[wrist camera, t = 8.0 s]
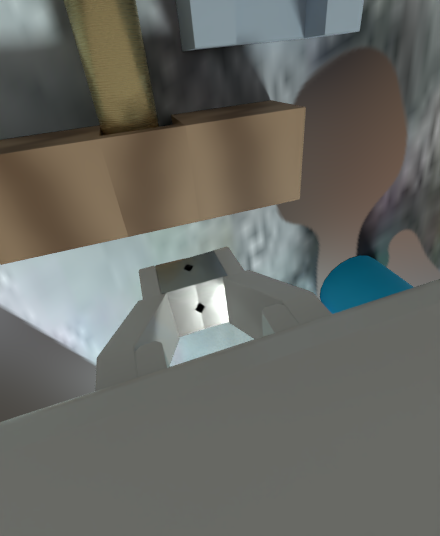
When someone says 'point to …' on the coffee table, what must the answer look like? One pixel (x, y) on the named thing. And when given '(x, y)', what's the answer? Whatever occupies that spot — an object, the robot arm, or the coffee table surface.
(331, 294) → the mug
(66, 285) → the coffee table surface
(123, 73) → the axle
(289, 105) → the beam
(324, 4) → the cradle
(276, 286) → the robot arm
